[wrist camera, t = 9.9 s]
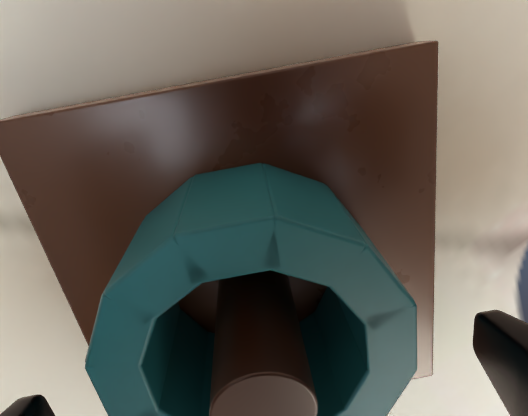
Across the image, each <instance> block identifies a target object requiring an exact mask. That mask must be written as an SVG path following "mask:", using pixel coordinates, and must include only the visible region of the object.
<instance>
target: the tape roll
mask: <svg viewBox="0 0 528 416" xmlns="http://www.w3.org/2000/svg"><path fill="white" fill-rule="evenodd" d="M269 270H271V271H274V272H278V273H282V274H285V275H289V276H292V277H296V278H300V279H303V280H307V281H310V282H314V283H317V284H321V285H325V286H328V287H327V288H326V290H325V292H324V294H323V296H322V298H321V300H320V302H319V304H318V306H317V308H316V310H315V312H313V313H312V314H310V315H309V316H308V317H306V318H305V319H303V320H302V321H300V322H299V325H300V329H301V333H302V337H303V342H304V346H305V350H306V354H307V358H308V363H309V367H310V371H311V375H312V380H313V384H314V388H315V392H316V396H317V401H318V413H317V416H387V414H388V413H389V411H390V410H391V408H392V407H393V405H394V404H395V402H396V401H397V399H398V398H399V396H400V395H401V393H402V392H403V390H404V389H405V387H406V386H407V384H408V383H409V381H410V380H411V378H412V377H413V376H414V374H415V372H416V371H417V305H416V303H415V301H414V299H413V298H412V296H411V295H410V294H409V292H408V291H407V289H406V288H405V287H404V285H403V284H402V283H401V281H400V280H399V278H398V277H397V276H396V274H395V273H394V272H393V270H392V269H391V267H390V266H389V265H388V263H387V262H386V261H385V259H384V258H383V256H382V255H381V254H380V252H379V251H378V250H377V248H376V247H375V245H374V244H373V243H372V241H371V240H370V238H369V237H368V236H367V234H366V233H365V232H364V230H363V229H362V228H361V226H360V225H359V224H358V223H357V221H356V220H355V219H354V218H353V216H352V215H351V214H350V213H349V212H348V210H347V209H346V208H345V207H344V205H343V204H342V203H341V202H340V200H339V199H338V198H337V197H336V196H335V194H334V193H333V192H332V191H331V189H330V188H329V187H328V186H327V185H325V184H324V183H322V182H319V181H316V180H313V179H310V178H307V177H304V176H301V175H298V174H295V173H292V172H289V171H286V170H283V169H280V168H277V167H274V166H272V165H269V164H266V163H264V164H262V163H256V164H250V165H245V166H239V167H234V168H229V169H223V170H218V171H213V172H207V173H202V174H196V175H194V177H191V178H189V179H188V180H187V181H186V182H185V183H184V184H182V185H181V186H180V187H179V188H178V189H177V190H175V191H174V192H173V193H172V194H171V195H170V196H168V197H167V198H166V199H165V200H164V201H163V202H161V203H160V204H159V205H158V206H157V207H156V208H155V209H153V210H152V211H151V212H150V213H149V214H148V215H146V216H145V218H144V220H143V221H142V223H141V225H140V226H139V228H138V230H137V232H136V234H135V235H134V237H133V239H132V241H131V243H130V245H129V246H128V248H127V250H126V252H125V254H124V255H123V257H122V259H121V261H120V263H119V264H118V266H117V268H116V270H115V272H114V273H113V275H112V277H111V279H110V281H109V282H108V284H107V286H106V288H105V290H104V292H103V293H102V295H101V299H100V303H99V307H98V311H97V315H96V319H95V323H94V327H93V331H92V335H91V339H90V344H89V348H88V352H87V356H86V360H85V362H86V364H85V369H86V371H87V373H88V375H89V377H90V379H91V381H92V383H93V385H94V387H95V390H96V392H97V394H98V396H99V398H100V400H101V402H102V404H103V406H104V408H105V410H106V412H107V414H108V416H209V404H210V391H211V377H212V363H213V350H214V336H215V333H211V332H207V331H206V330H205V329H204V328H203V327H201V326H200V325H199V324H198V323H197V322H195V321H194V320H193V319H192V318H191V317H190V316H188V315H187V314H186V313H185V312H184V311H182V310H181V309H180V306H179V303H178V301H180V300H181V299H182V298H184V297H185V296H186V295H187V294H189V293H190V292H191V291H193V290H194V289H195V288H196V287H198V286H199V285H200V284H202V283H205V282H210V281H215V280H221V279H226V278H232V277H237V276H242V275H248V274H253V273H258V272H264V271H269Z"/></svg>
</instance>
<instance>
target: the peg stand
mask: <svg viewBox="0 0 528 416" xmlns="http://www.w3.org/2000/svg"><path fill="white" fill-rule="evenodd" d="M437 85H438V41H423V42H413V43H407V44H402V45H396V46H391V47H385V48H380V49H375V50H369V51H364V52H358V53H353V54H347V55H342V56H336V57H331V58H326V59H320V60H315V61H309V62H304V63H298V64H293V65H288V66H282V67H277V68H271V69H266V70H260V71H255V72H250V73H244V74H239V75H233V76H228V77H222V78H217V79H211V80H206V81H201V82H195V83H190V84H184V85H179V86H173V87H168V88H163V89H157V90H152V91H146V92H141V93H135V94H130V95H124V96H119V97H114V98H108V99H103V100H97V101H92V102H86V103H81V104H76V105H70V106H65V107H59V108H54V109H48V110H43V111H38V112H32V113H27V114H21V115H16V116H11V117H8V118H4V119H1V120H0V156H1V159H2V161H3V163H4V165H5V167H6V169H7V171H8V174H9V176H10V178H11V180H12V182H13V184H14V187H15V189H16V191H17V193H18V195H19V197H20V199H21V202H22V204H23V206H24V208H25V210H26V212H27V214H28V217H29V219H30V221H31V223H32V225H33V227H34V230H35V232H36V234H37V236H38V238H39V240H40V242H41V245H42V247H43V249H44V251H45V253H46V255H47V257H48V260H49V262H50V264H51V266H52V268H53V270H54V272H55V275H56V277H57V279H58V281H59V283H60V285H61V288H62V290H63V292H64V294H65V296H66V298H67V300H68V303H69V305H70V307H71V309H72V311H73V313H74V315H75V318H76V320H77V322H78V324H79V326H80V328H81V331H82V333H83V335H84V337H85V339H86V341H87V343H88V346H89V344H90V339H91V335H92V331H93V327H94V323H95V319H96V315H97V311H98V307H99V303H100V299H101V295H102V293H103V292H104V290H105V288H106V286H107V284H108V282H109V281H110V279H111V277H112V275H113V273H114V272H115V270H116V268H117V266H118V264H119V263H120V261H121V259H122V257H123V255H124V254H125V252H126V250H127V248H128V246H129V245H130V243H131V241H132V239H133V237H134V235H135V234H136V232H137V230H138V228H139V226H140V225H141V223H142V221H143V220H144V218H145V216H146V215H148V214H149V213H150V212H151V211H152V210H153V209H155V208H156V207H157V206H158V205H159V204H160V203H161V202H163V201H164V200H165V199H166V198H167V197H168V196H170V195H171V194H172V193H173V192H174V191H175V190H177V189H178V188H179V187H180V186H181V185H182V184H184V183H185V182H186V181H187V180H188V179H189V178H191V177H194V175H196V174H202V173H207V172H213V171H218V170H223V169H229V168H234V167H239V166H245V165H250V164H256V163H262V164H264V163H266V164H269V165H272V166H274V167H277V168H280V169H283V170H286V171H289V172H292V173H295V174H298V175H301V176H304V177H307V178H310V179H313V180H316V181H319V182H322V183H324V184H325V185H327V186H328V187H329V188H330V189H331V191H332V192H333V193H334V194H335V196H336V197H337V198H338V199H339V200H340V202H341V203H342V204H343V205H344V207H345V208H346V209H347V210H348V212H349V213H350V214H351V215H352V216H353V218H354V219H355V220H356V221H357V223H358V224H359V225H360V226H361V228H362V229H363V230H364V232H365V233H366V234H367V236H368V237H369V238H370V240H371V241H372V243H373V244H374V245H375V247H376V248H377V250H378V251H379V252H380V254H381V255H382V256H383V258H384V259H385V261H386V262H387V263H388V265H389V266H390V267H391V269H392V270H393V272H394V273H395V274H396V276H397V277H398V278H399V280H400V281H401V283H402V284H403V285H404V287H405V288H406V289H407V291H408V292H409V294H410V295H411V296H412V298H413V299H414V301H415V303H416V305H417V371H416V372H415V374H414V376H413V377H412V378H411V379H416V378H421V377H427V376H432V372H433V315H434V257H435V200H436V142H437ZM327 287H328V286H325V285H321V284H317V283H314V282H310V281H307V280H303V279H300V278H296V277H292V276H289V275H285V274H282V273H278V272H274V271H271V270H269V271H264V272H258V273H253V274H248V275H242V276H237V277H232V278H226V279H221V280H215V281H210V282H205V283H202V284H200V285H199V286H198V287H196V288H195V289H194V290H193V291H191V292H190V293H189V294H187V295H186V296H185V297H184V298H182V299H181V300H180V301H178V303H179V306H180V309H181V310H182V311H184V312H185V313H186V314H187V315H188V316H190V317H191V318H192V319H193V320H194V321H195V322H197V323H198V324H199V325H200V326H201V327H203V328H204V329H205V330H206V331H207V332H211V333H215V336H214V350H213V363H212V377H211V391H210V404H209V416H317V413H318V401H317V396H316V392H315V388H314V384H313V380H312V375H311V371H310V367H309V363H308V358H307V354H306V350H305V346H304V342H303V337H302V333H301V329H300V325H299V322H300V321H302V320H303V319H305V318H306V317H308V316H309V315H310V314H312V313H313V312H315V310H316V308H317V306H318V304H319V302H320V300H321V298H322V296H323V294H324V292H325V290H326V288H327Z"/></svg>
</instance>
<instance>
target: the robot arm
mask: <svg viewBox="0 0 528 416" xmlns="http://www.w3.org/2000/svg"><path fill="white" fill-rule="evenodd" d="M473 348H474V351H475V354H476V356H477V358H478V359H479V361H480V363H481V365H482V367H483V368H484V370H485V372H486V374H487V375H488V377H489V379H490V381H491V382H492V384H493V386H494V388H495V389H496V391H497V393H498V395H499V397H500V398H501V400H502V402H503V404H504V405H505V407H506V409H507V411H508V412H509V414H510V416H528V323H526V322H524V321H522V320H519V319H517V318H515V317H513V316H511V315H508V314H506V313H504V312H502V311H499V310H491V311H485V312H480V313H478V314H476V316H475V319H474V333H473ZM0 416H55V415H54V413H53V411H52V409H51V407H50V406H49V404H48V402H47V400H46V399H45V397H44V396H42V395H32V396H27V397H22V398H20V399H18V400H16V401H15V402H14V403H13V404H12V405H11V406H9V407H8V408H7V409H6V410H5V411H4V412H2V413H1V414H0Z"/></svg>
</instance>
